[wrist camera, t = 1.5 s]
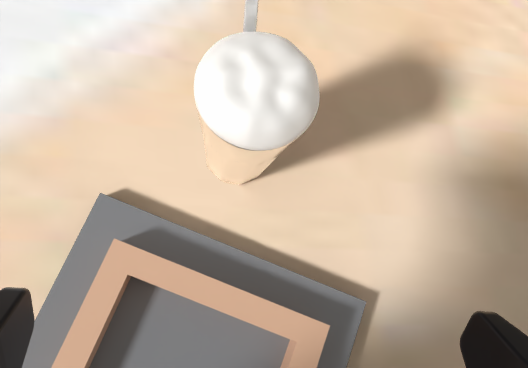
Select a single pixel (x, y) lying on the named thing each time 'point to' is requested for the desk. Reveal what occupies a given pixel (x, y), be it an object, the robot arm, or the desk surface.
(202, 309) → the dock
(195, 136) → the desk surface
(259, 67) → the milkshake
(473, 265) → the desk surface
